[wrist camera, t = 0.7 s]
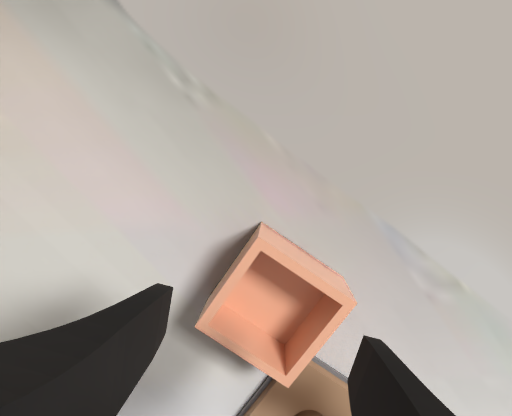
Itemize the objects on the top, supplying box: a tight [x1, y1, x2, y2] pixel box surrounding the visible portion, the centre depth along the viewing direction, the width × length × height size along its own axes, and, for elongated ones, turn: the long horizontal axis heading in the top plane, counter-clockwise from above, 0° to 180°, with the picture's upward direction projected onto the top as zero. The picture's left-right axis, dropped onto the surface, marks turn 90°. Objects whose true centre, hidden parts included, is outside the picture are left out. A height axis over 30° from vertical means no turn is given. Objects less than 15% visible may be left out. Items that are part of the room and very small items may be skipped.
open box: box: [195, 222, 357, 388], centre depth 20 cm, size 7×7×4 cm
